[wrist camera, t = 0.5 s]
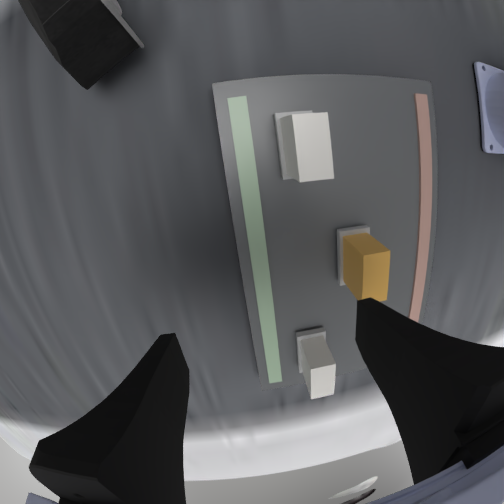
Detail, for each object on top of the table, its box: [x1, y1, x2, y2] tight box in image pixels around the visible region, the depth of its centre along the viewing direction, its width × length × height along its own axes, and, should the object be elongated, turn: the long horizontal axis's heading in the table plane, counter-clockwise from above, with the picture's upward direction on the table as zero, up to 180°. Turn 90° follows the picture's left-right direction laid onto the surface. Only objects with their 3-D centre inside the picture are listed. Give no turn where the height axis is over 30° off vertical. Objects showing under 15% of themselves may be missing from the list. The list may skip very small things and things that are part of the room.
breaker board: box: [212, 74, 438, 391], centre depth 19 cm, size 14×22×2 cm, turn 7°
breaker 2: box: [296, 327, 336, 399], centre depth 19 cm, size 2×4×4 cm, turn 8°
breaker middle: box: [337, 225, 390, 302], centre depth 17 cm, size 2×4×4 cm, turn 7°
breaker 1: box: [274, 110, 334, 182], centre depth 14 cm, size 2×4×4 cm, turn 8°
